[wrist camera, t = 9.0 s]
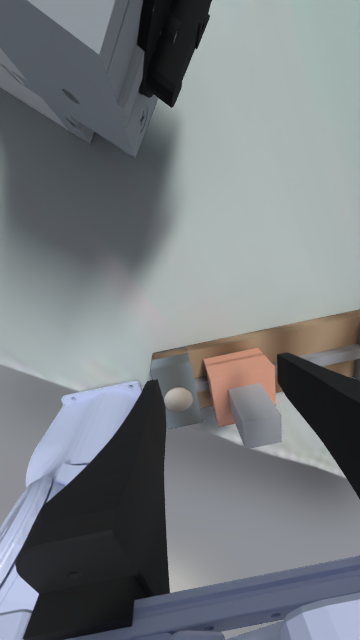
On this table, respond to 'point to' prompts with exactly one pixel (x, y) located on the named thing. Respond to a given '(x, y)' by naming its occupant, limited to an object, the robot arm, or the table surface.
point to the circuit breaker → (99, 60)
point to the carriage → (245, 395)
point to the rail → (298, 339)
